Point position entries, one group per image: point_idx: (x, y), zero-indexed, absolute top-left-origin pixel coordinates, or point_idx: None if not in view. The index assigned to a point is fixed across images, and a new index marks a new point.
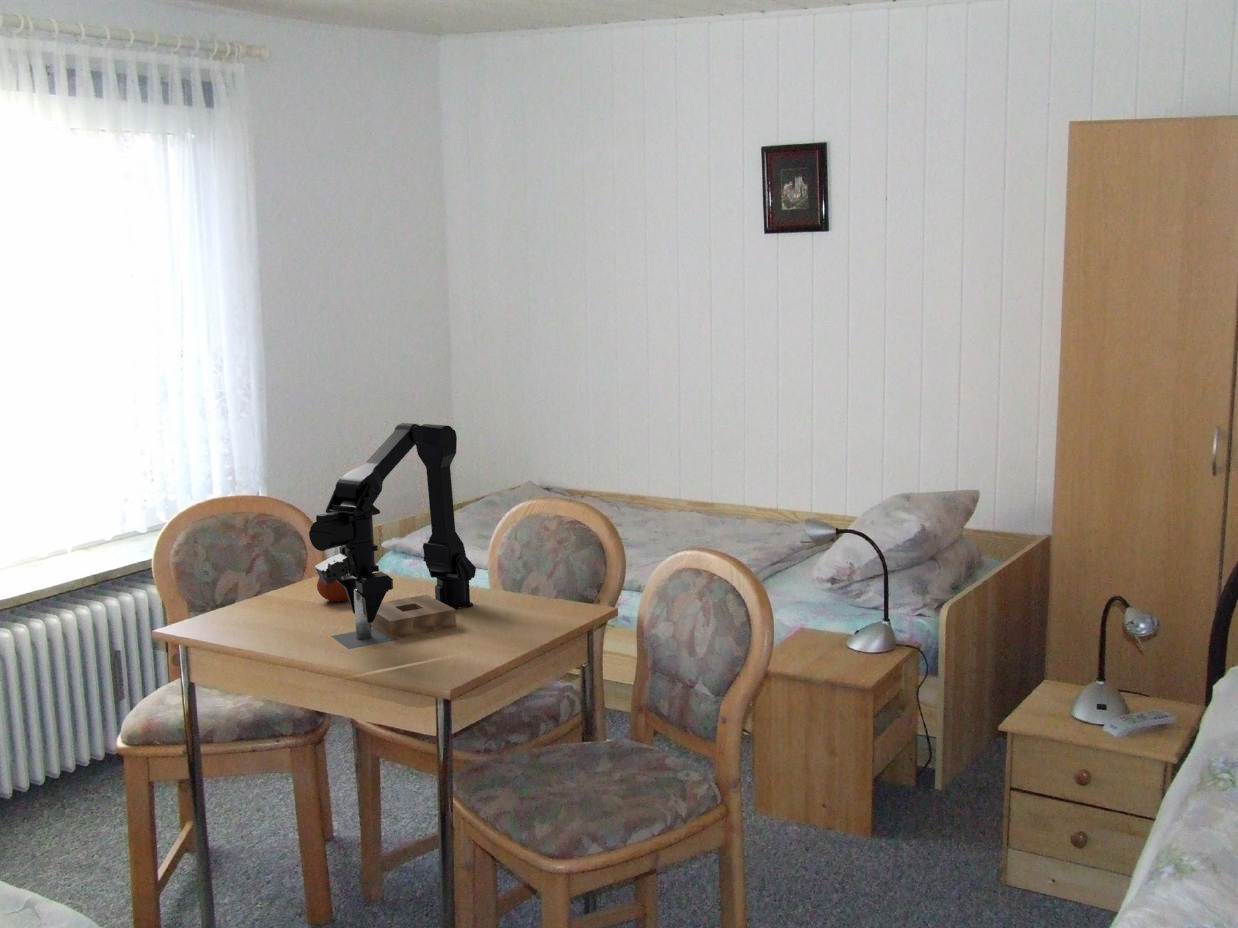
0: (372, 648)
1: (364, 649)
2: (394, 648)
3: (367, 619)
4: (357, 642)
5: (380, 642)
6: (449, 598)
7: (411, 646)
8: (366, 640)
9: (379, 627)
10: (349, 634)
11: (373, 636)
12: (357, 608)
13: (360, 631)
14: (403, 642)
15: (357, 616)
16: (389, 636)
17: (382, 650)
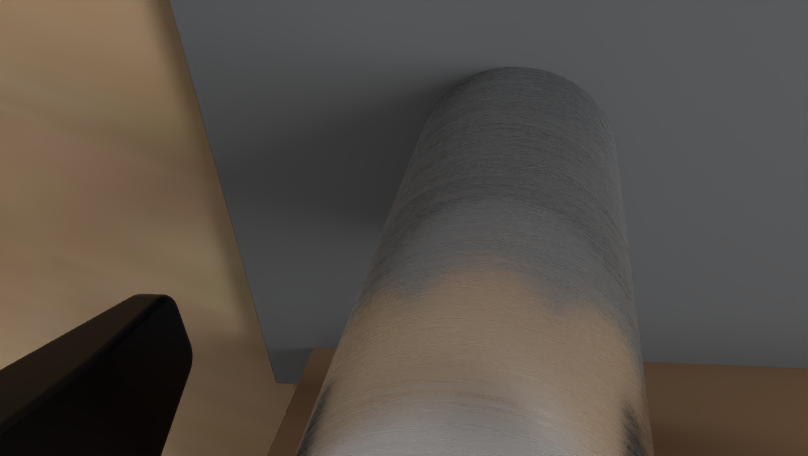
0: (143, 113)
1: (133, 26)
2: (83, 274)
3: (101, 318)
4: (355, 24)
5: (241, 236)
6: None
7: None
8: (380, 143)
9: None
10: (801, 44)
11: None
12: (361, 394)
13: (422, 148)
14: (232, 386)
15: (409, 262)
16: None
17: (48, 172)
